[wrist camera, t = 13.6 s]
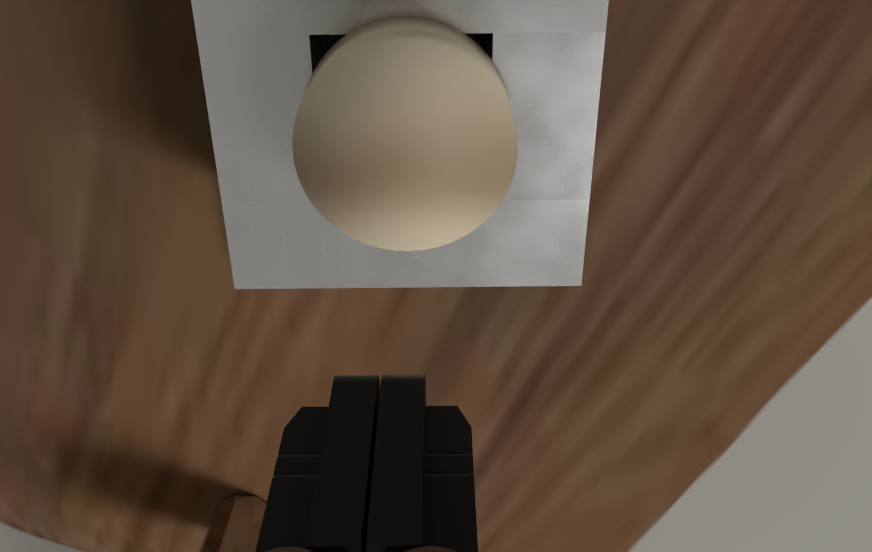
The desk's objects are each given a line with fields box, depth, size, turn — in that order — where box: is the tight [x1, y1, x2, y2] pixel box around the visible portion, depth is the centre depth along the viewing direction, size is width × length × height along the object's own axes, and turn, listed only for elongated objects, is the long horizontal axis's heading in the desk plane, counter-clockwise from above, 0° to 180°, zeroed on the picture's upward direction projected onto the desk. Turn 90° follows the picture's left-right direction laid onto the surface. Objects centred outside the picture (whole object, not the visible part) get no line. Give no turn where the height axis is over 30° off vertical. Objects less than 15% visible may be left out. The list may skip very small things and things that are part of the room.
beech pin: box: [292, 16, 518, 251], centre depth 27 cm, size 6×6×8 cm
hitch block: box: [191, 0, 609, 289], centre depth 29 cm, size 18×14×7 cm
